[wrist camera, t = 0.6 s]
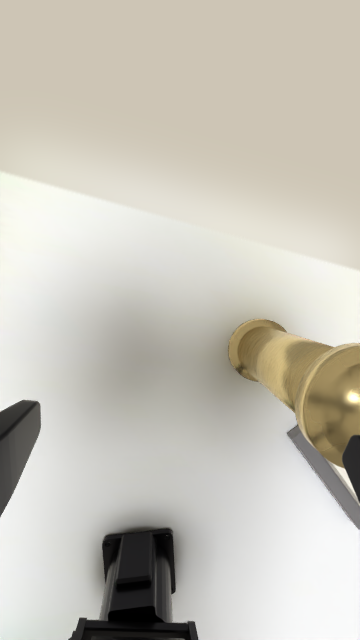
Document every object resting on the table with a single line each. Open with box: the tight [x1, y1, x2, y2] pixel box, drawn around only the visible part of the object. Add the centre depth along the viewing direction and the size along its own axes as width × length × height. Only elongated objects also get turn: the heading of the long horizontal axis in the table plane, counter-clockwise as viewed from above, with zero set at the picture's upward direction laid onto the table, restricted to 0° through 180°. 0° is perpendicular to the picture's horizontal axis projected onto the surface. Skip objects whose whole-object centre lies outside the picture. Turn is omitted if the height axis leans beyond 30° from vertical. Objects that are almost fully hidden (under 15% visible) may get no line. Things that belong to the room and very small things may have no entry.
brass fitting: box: [228, 319, 360, 469], centre depth 18 cm, size 6×6×13 cm
